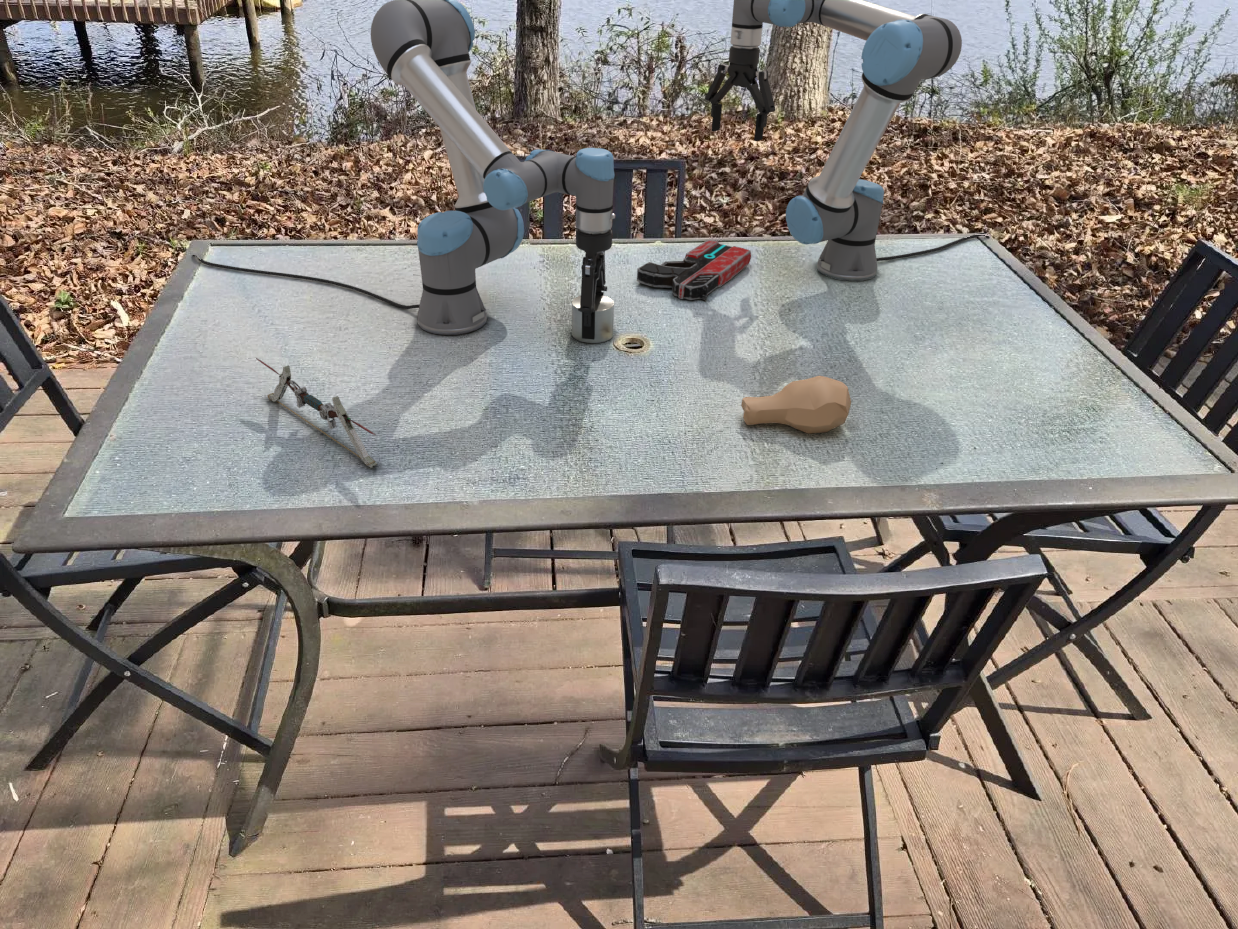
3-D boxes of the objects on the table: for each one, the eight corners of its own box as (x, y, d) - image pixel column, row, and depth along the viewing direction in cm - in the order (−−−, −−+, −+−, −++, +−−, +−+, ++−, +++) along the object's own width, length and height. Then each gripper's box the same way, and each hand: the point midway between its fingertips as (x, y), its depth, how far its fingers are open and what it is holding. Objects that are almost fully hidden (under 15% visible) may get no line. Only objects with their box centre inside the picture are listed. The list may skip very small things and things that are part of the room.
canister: (616, 342, 190) (617, 310, 186) (574, 344, 189) (574, 312, 185) (609, 324, 198) (610, 293, 193) (569, 325, 196) (569, 294, 192)
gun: (631, 269, 213) (702, 288, 206) (689, 232, 235) (755, 248, 228) (630, 286, 216) (701, 306, 208) (688, 248, 238) (753, 264, 230)
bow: (387, 470, 147) (379, 419, 141) (378, 475, 146) (370, 423, 140) (269, 391, 168) (258, 344, 163) (260, 394, 167) (249, 347, 162)
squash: (855, 440, 159) (859, 402, 153) (745, 448, 161) (744, 411, 155) (845, 401, 167) (848, 364, 161) (739, 410, 169) (739, 373, 163)
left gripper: (602, 248, 171) (600, 352, 183) (620, 213, 188) (617, 310, 201) (564, 244, 171) (565, 348, 184) (586, 210, 189) (585, 307, 202)
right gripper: (696, 41, 221) (690, 128, 233) (779, 54, 208) (768, 146, 220) (713, 38, 226) (707, 124, 238) (796, 51, 212) (784, 141, 224)
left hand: (592, 328), depth 193 cm, fingers closed on canister, 9 cm apart
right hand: (736, 135), depth 229 cm, fingers open, 13 cm apart
